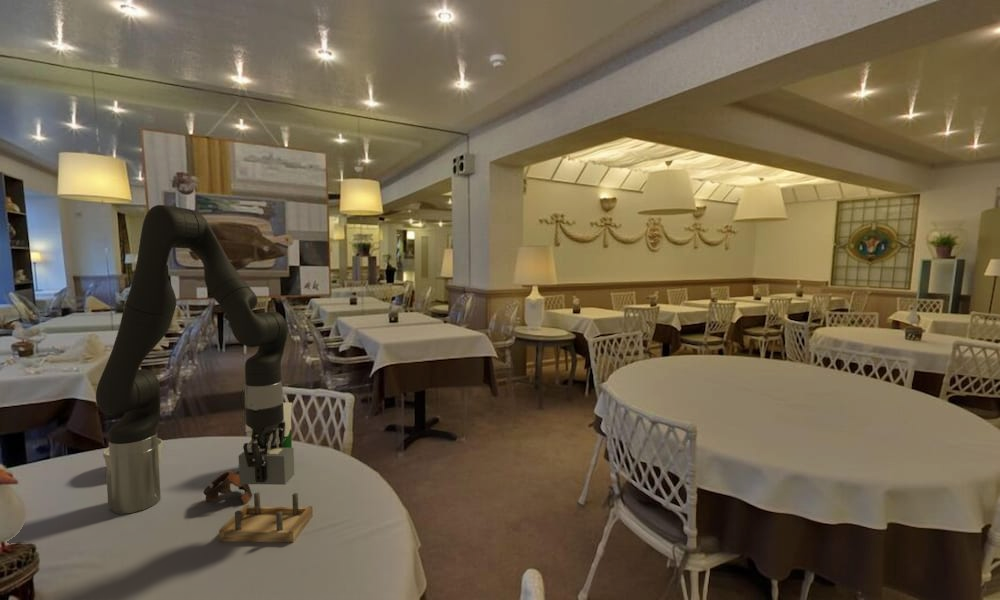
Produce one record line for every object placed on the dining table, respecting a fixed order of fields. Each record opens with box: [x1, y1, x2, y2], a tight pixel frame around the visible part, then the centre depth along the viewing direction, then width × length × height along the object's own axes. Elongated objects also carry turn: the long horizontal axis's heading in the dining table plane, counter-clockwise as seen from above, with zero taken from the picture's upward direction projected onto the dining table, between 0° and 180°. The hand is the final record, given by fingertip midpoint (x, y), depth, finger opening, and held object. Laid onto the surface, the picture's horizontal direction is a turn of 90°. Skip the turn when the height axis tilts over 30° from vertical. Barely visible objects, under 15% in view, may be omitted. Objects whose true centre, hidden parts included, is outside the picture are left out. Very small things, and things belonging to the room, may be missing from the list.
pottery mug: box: [203, 470, 253, 505], centre depth 114 cm, size 12×10×8 cm
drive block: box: [238, 447, 295, 486], centre depth 101 cm, size 10×4×7 cm, turn 90°
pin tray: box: [218, 491, 313, 543], centre depth 102 cm, size 16×10×6 cm, turn 90°
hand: (267, 475), depth 101 cm, fingers closed on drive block, 4 cm apart
